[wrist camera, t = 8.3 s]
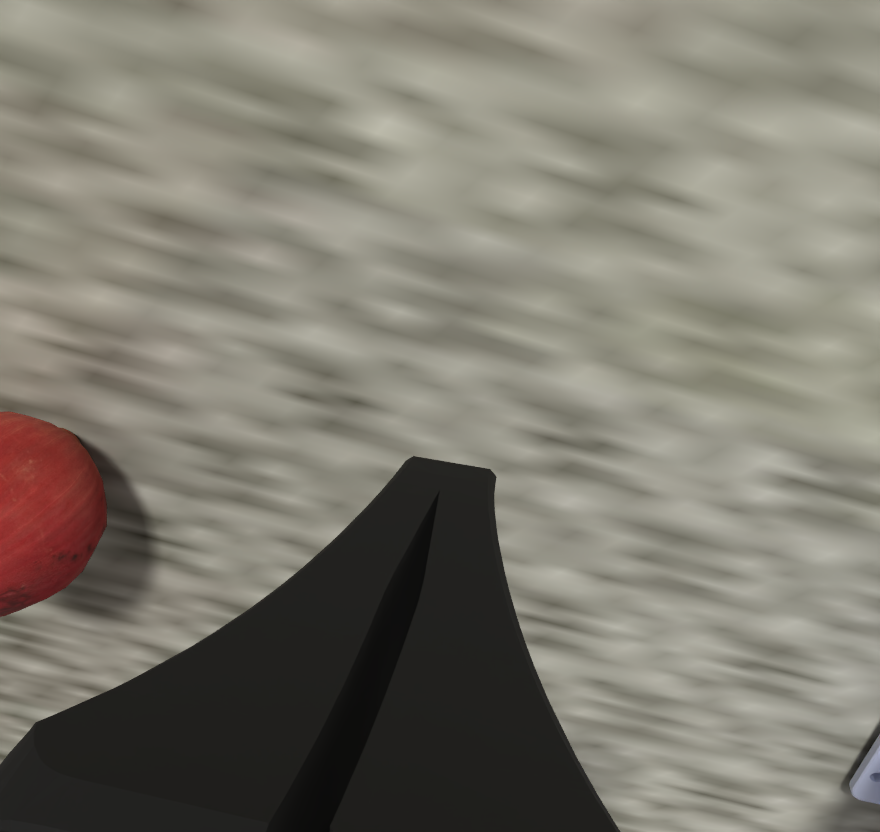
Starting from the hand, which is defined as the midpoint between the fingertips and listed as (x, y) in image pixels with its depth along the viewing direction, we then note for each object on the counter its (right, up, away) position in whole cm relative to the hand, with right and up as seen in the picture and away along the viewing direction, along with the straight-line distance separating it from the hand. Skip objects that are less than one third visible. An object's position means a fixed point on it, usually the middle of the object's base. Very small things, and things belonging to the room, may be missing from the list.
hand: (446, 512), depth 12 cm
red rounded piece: (-12, +1, +14) cm, 19 cm away
